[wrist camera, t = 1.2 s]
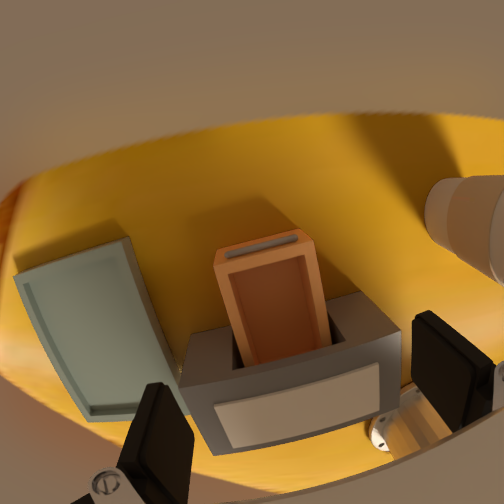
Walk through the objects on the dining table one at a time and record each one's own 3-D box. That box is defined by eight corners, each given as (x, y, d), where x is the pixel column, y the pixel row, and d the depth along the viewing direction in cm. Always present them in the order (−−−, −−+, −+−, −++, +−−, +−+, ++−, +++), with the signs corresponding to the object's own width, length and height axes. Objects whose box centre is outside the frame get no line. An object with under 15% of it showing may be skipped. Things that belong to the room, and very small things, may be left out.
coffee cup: (426, 271, 27) (533, 339, 13) (403, 184, 25) (533, 205, 11) (484, 236, 27) (589, 277, 12) (467, 156, 25) (586, 162, 10)
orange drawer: (322, 347, 29) (336, 377, 24) (252, 365, 29) (255, 398, 24) (297, 221, 26) (311, 232, 21) (215, 242, 26) (210, 258, 21)
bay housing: (216, 398, 29) (213, 458, 21) (190, 334, 27) (177, 391, 19) (367, 359, 29) (400, 409, 21) (361, 290, 27) (403, 332, 19)
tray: (193, 402, 29) (191, 414, 28) (93, 411, 30) (87, 422, 28) (129, 236, 25) (121, 241, 23) (23, 270, 25) (12, 276, 23)
